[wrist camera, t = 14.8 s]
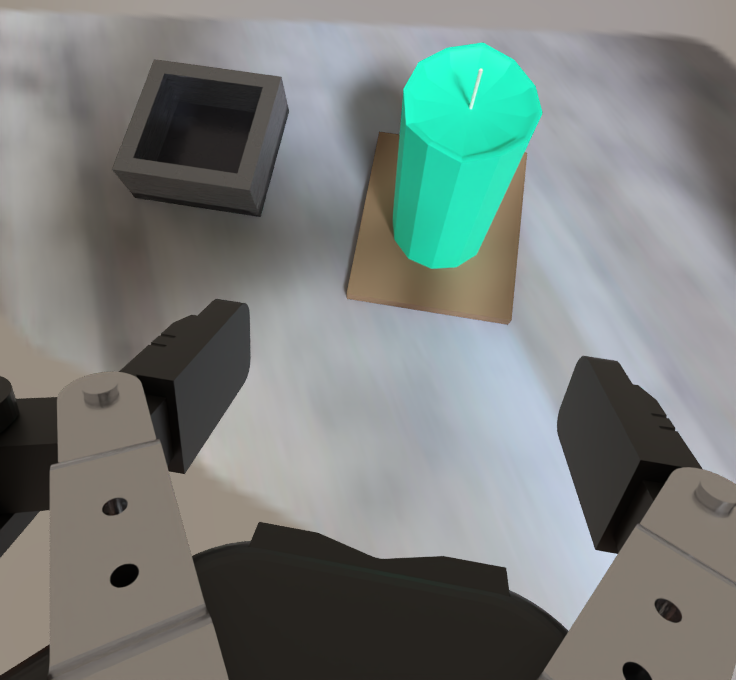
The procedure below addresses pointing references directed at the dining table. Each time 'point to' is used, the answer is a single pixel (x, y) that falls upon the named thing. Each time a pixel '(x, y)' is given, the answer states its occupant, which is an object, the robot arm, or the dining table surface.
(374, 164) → the walnut board
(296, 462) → the dining table surface
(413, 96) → the candle
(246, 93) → the box
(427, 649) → the robot arm
